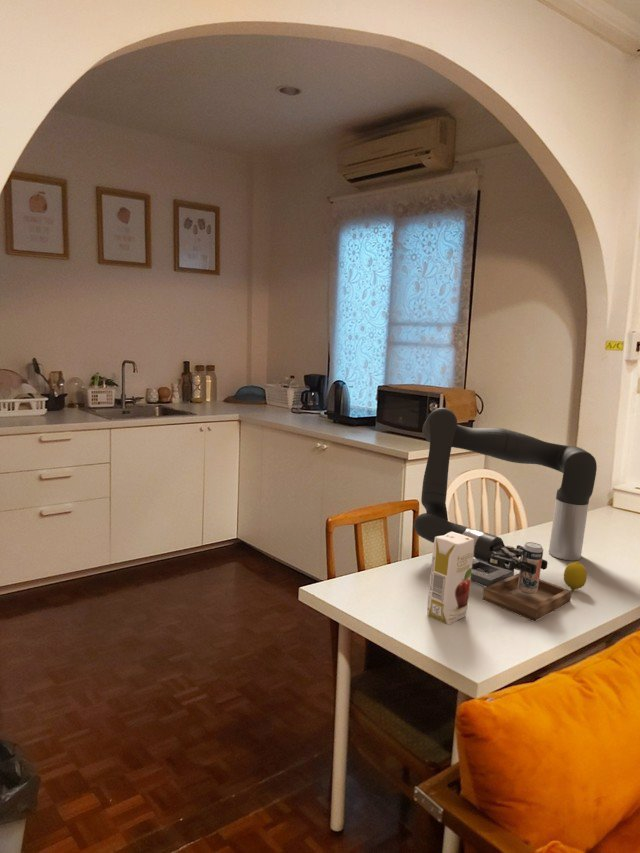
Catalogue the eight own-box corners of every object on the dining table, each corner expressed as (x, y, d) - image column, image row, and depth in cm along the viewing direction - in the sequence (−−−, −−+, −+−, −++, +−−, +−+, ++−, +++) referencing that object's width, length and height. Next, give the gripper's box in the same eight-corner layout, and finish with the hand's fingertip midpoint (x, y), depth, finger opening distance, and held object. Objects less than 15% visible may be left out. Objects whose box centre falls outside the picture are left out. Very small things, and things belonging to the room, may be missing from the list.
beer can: (517, 592, 154) (524, 546, 152) (516, 585, 158) (522, 540, 156) (538, 596, 153) (544, 549, 150) (536, 588, 157) (542, 543, 155)
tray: (519, 582, 167) (520, 572, 166) (570, 602, 157) (571, 590, 156) (482, 599, 155) (483, 588, 154) (534, 621, 145) (535, 609, 144)
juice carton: (421, 614, 144) (429, 536, 141) (443, 605, 150) (451, 529, 147) (449, 627, 139) (458, 546, 136) (470, 616, 145) (479, 538, 142)
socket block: (475, 563, 179) (476, 556, 179) (513, 577, 170) (514, 570, 170) (451, 572, 171) (451, 565, 170) (489, 587, 162) (490, 580, 162)
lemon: (582, 588, 166) (587, 559, 165) (585, 596, 161) (590, 567, 160) (560, 584, 168) (564, 556, 166) (563, 592, 162) (567, 563, 161)
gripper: (467, 537, 159) (528, 559, 147) (497, 527, 169) (557, 547, 156) (463, 565, 160) (524, 589, 148) (494, 554, 170) (553, 575, 158)
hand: (540, 567), depth 152 cm, fingers closed on beer can, 4 cm apart
